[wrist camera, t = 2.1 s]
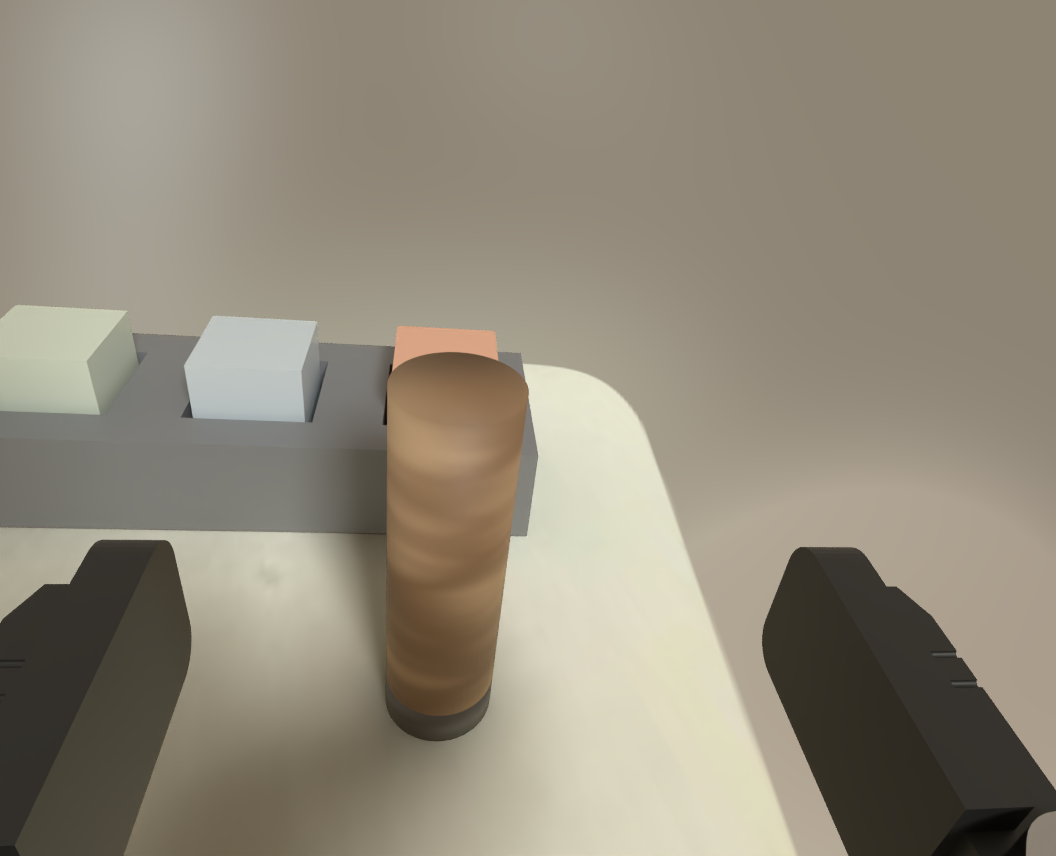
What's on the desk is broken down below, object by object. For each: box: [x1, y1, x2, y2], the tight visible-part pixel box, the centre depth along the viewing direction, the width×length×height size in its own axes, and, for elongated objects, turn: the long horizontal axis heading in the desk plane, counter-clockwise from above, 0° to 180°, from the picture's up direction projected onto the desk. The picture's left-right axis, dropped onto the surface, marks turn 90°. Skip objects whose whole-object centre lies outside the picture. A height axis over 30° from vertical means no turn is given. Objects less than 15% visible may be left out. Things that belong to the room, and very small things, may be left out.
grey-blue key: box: [184, 316, 321, 422], centre depth 36 cm, size 5×5×4 cm
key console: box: [0, 333, 538, 536], centre depth 38 cm, size 27×10×5 cm, turn 95°
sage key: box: [0, 305, 139, 415], centre depth 35 cm, size 5×5×4 cm
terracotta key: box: [392, 326, 498, 371], centre depth 37 cm, size 5×5×4 cm
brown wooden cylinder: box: [386, 352, 529, 741], centre depth 25 cm, size 4×4×14 cm
